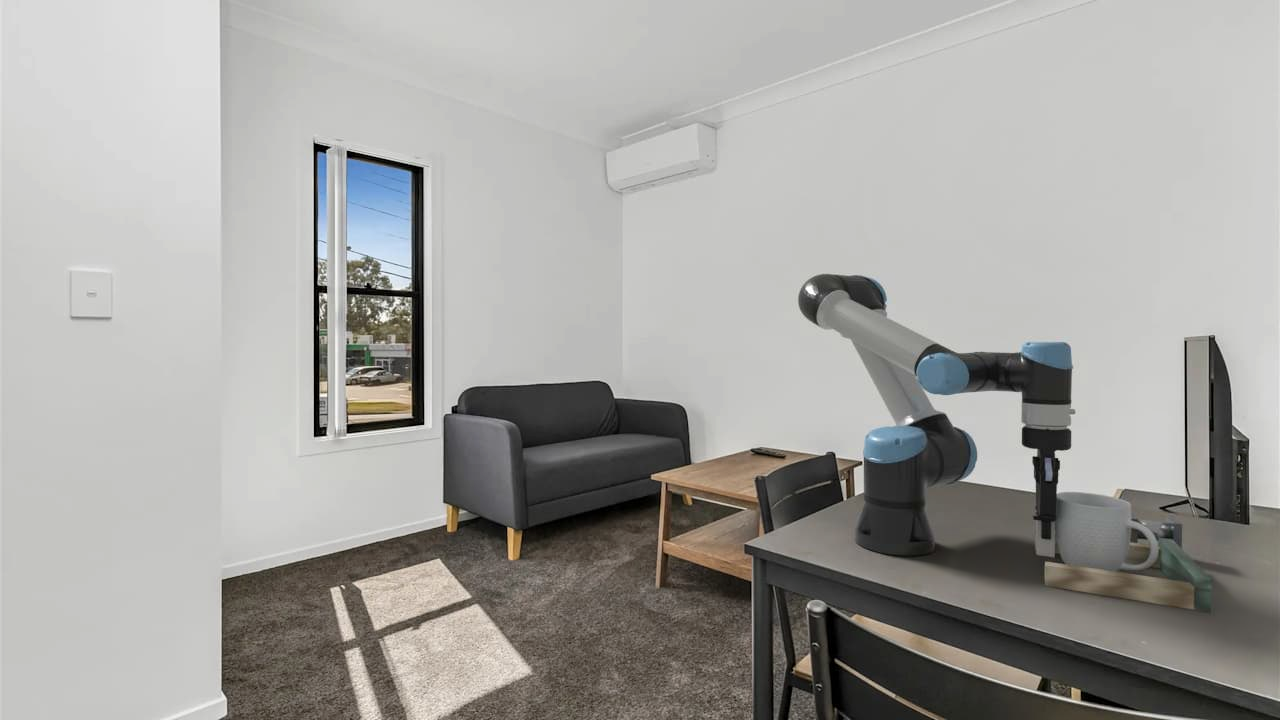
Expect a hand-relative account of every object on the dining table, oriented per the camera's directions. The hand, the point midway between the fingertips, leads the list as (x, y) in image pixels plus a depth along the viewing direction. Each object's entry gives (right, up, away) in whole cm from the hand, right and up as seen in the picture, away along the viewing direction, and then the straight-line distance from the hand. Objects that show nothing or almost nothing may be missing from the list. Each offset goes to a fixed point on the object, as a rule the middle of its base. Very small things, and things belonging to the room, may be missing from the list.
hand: (1045, 554), depth 111 cm
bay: (+9, -2, -4) cm, 10 cm away
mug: (+7, -3, -3) cm, 8 cm away
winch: (+23, -2, +5) cm, 24 cm away
